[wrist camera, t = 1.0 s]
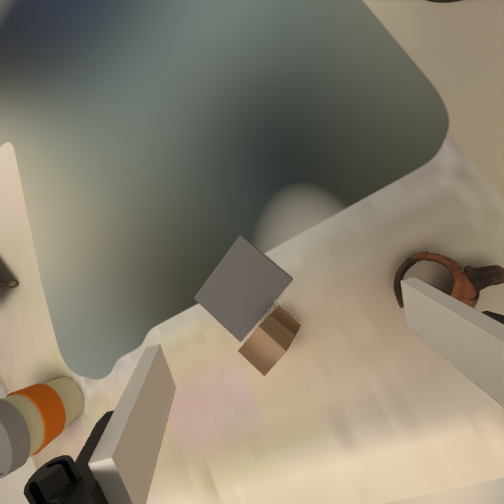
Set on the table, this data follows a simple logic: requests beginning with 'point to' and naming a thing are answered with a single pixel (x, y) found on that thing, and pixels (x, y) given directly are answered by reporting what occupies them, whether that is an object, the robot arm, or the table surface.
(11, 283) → the tabletop clock
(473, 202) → the table surface
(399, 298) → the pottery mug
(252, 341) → the walnut block
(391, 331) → the table surface
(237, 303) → the rubber mat
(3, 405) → the reusable coffee cup
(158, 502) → the table surface
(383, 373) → the table surface
